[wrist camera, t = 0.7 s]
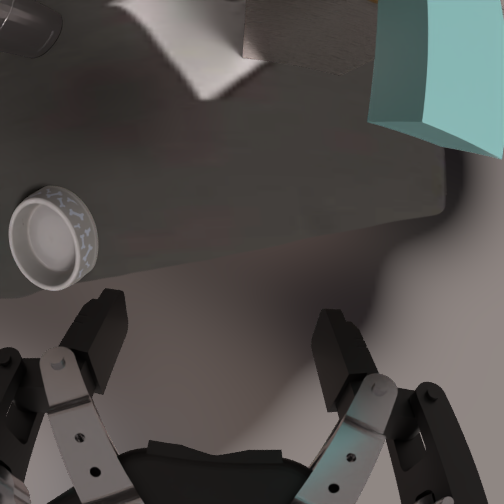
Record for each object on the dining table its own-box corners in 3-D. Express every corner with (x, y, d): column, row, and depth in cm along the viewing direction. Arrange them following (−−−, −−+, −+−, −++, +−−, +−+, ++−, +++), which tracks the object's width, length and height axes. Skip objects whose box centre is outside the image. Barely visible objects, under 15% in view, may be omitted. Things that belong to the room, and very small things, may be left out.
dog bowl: (8, 219, 41) (-9, 229, 36) (67, 166, 39) (49, 171, 34) (52, 293, 47) (39, 307, 42) (116, 255, 45) (104, 269, 40)
